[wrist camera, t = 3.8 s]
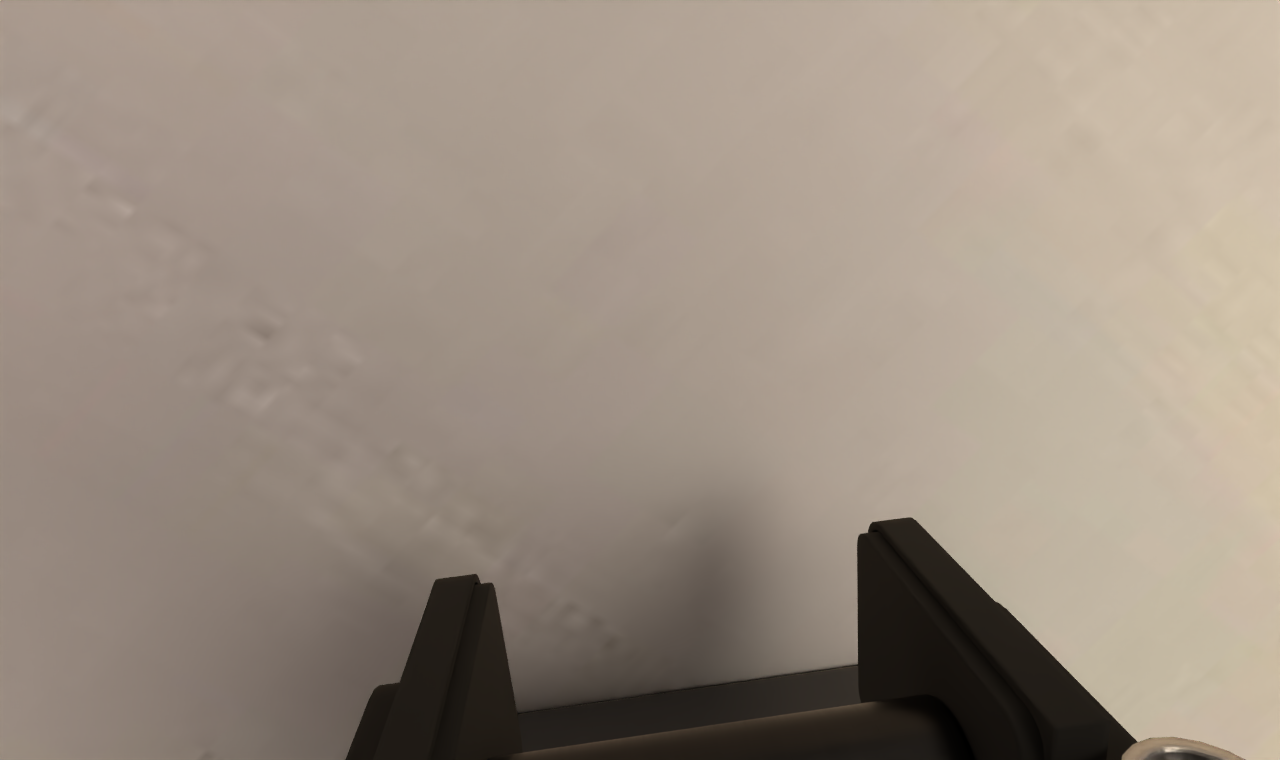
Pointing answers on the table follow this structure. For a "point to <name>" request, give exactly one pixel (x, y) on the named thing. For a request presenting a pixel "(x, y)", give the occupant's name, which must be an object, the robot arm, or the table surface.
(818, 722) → the tap lever
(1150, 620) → the table surface
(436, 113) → the table surface
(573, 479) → the table surface
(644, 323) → the table surface
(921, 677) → the robot arm
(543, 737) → the lever stand
